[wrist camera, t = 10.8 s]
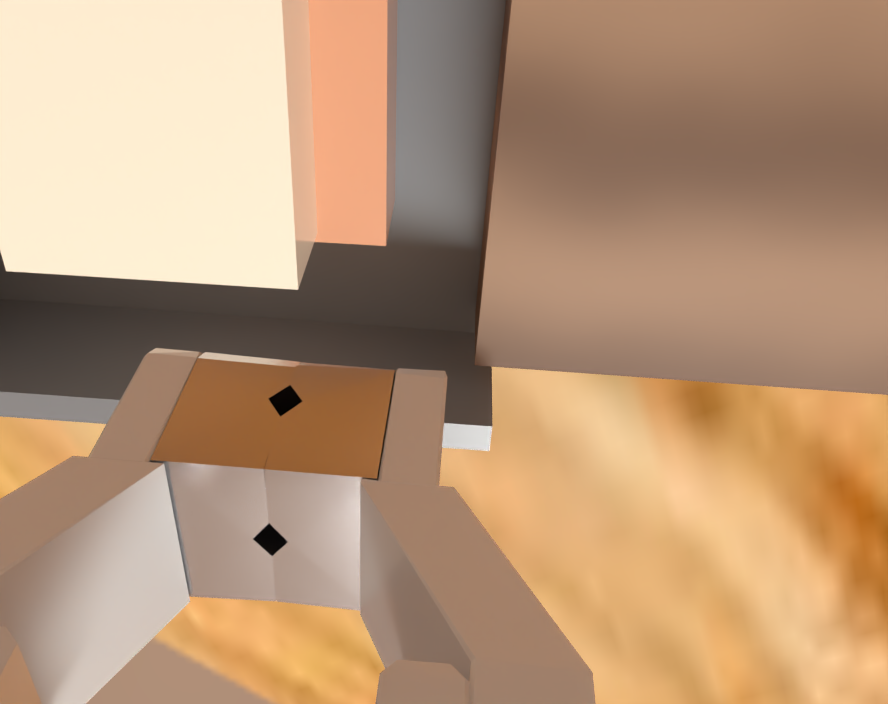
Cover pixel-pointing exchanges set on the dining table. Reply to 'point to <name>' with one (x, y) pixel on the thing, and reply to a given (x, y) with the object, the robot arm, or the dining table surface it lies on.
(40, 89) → the tile front
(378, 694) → the robot arm
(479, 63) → the box
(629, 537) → the dining table surface
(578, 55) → the plate
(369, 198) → the tile rear
